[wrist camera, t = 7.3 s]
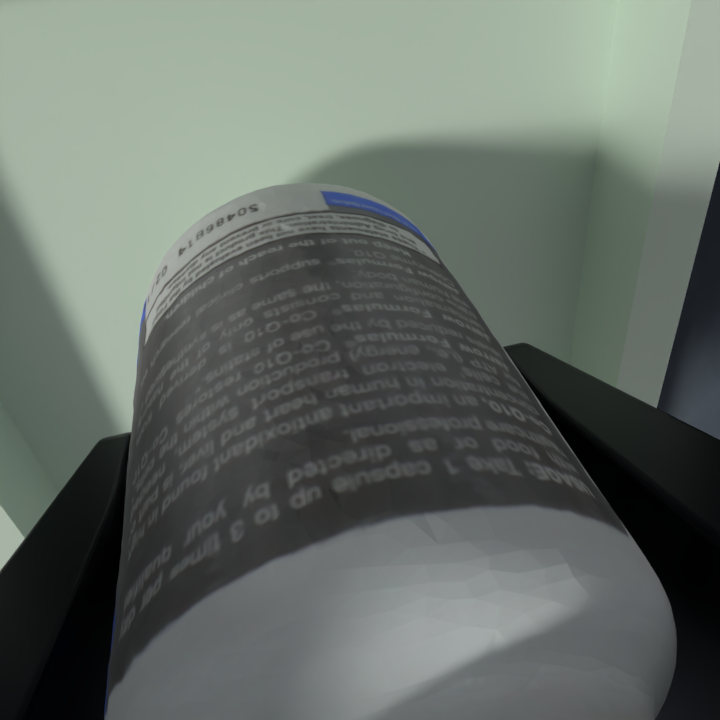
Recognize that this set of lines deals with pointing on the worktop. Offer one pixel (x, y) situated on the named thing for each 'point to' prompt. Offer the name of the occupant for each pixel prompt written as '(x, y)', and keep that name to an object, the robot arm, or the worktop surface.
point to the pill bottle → (359, 495)
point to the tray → (342, 175)
